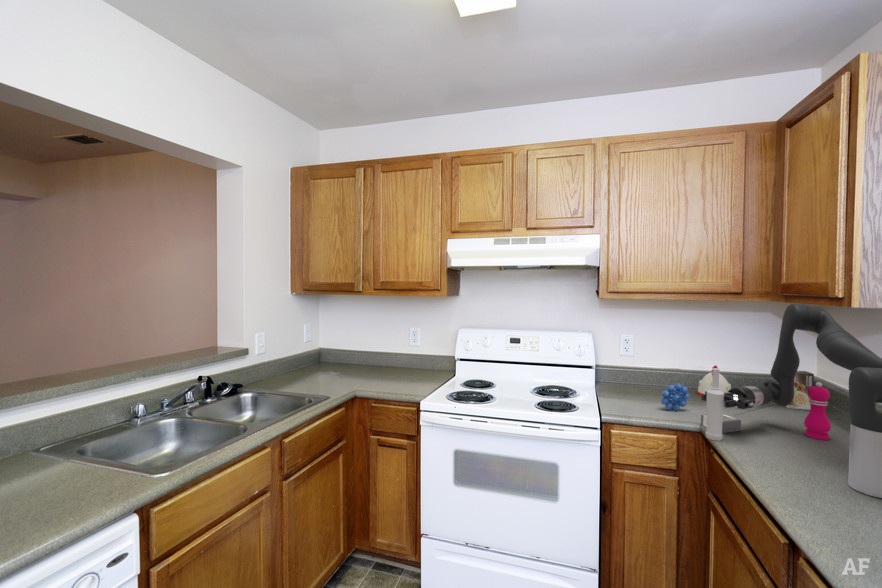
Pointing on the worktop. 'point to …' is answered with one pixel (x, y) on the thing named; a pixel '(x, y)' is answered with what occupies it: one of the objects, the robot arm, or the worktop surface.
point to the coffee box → (802, 390)
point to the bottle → (714, 409)
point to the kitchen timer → (707, 383)
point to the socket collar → (725, 423)
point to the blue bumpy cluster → (675, 397)
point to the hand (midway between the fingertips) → (713, 401)
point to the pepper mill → (817, 413)
